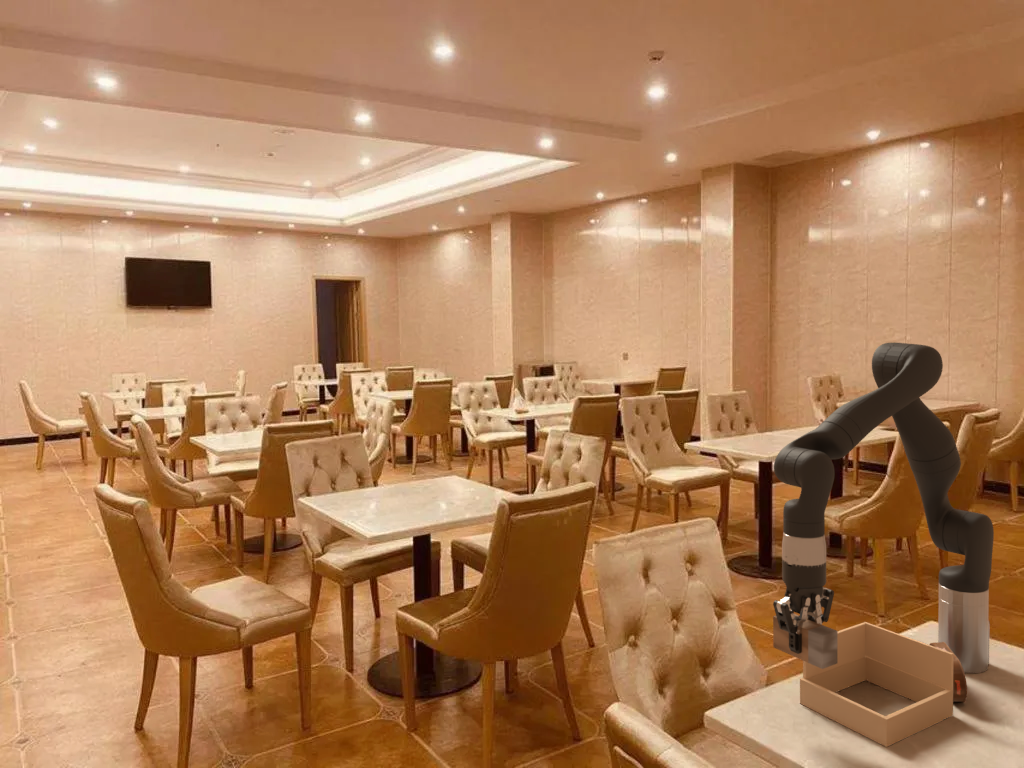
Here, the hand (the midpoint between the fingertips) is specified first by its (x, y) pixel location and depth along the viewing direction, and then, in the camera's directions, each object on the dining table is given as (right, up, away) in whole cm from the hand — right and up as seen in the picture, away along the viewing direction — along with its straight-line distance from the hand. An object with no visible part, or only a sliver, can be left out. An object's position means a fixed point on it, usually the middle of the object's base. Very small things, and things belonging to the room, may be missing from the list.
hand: (804, 648), depth 143 cm
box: (0, -1, 0) cm, 1 cm away
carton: (+16, -14, +6) cm, 22 cm away
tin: (+33, -13, +13) cm, 38 cm away
